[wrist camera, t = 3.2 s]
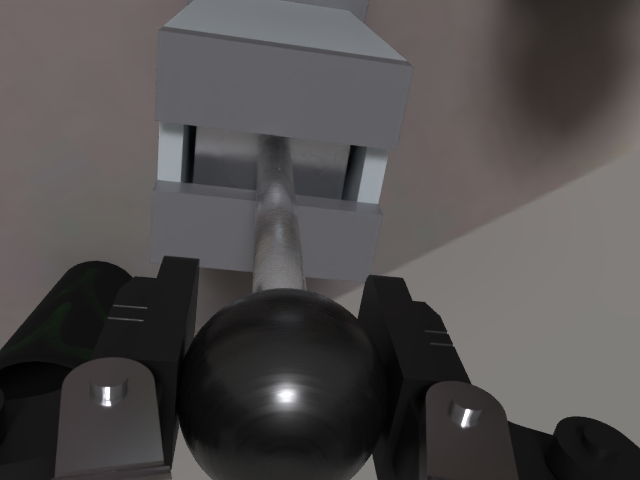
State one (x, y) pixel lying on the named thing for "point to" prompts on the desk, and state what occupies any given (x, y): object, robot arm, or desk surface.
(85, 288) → the cup
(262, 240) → the plunger
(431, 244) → the desk surface
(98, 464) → the robot arm
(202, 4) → the slotted square pillar
